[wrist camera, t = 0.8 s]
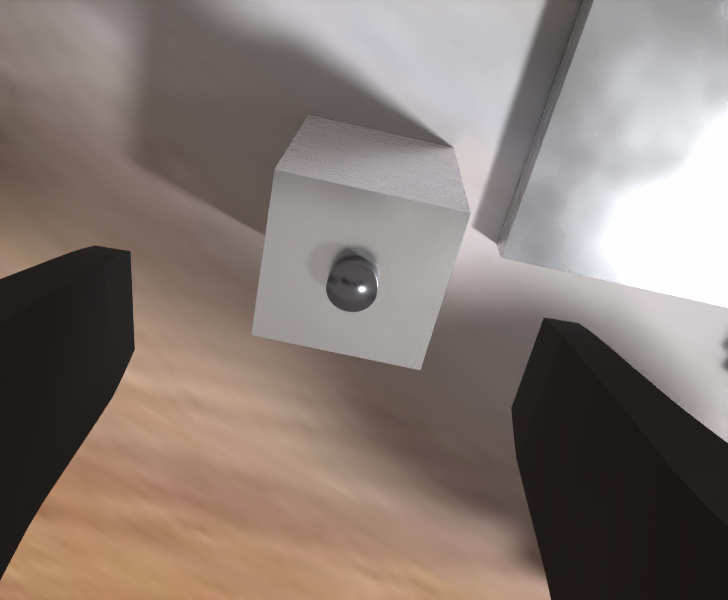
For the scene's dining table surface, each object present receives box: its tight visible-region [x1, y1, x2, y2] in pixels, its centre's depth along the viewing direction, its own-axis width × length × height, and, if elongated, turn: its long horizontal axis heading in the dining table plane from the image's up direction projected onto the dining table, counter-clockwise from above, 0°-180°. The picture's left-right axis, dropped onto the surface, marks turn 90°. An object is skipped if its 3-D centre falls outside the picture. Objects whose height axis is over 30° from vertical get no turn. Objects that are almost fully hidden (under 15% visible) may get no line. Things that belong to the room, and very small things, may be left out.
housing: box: [251, 115, 470, 370], centre depth 17 cm, size 4×4×6 cm
